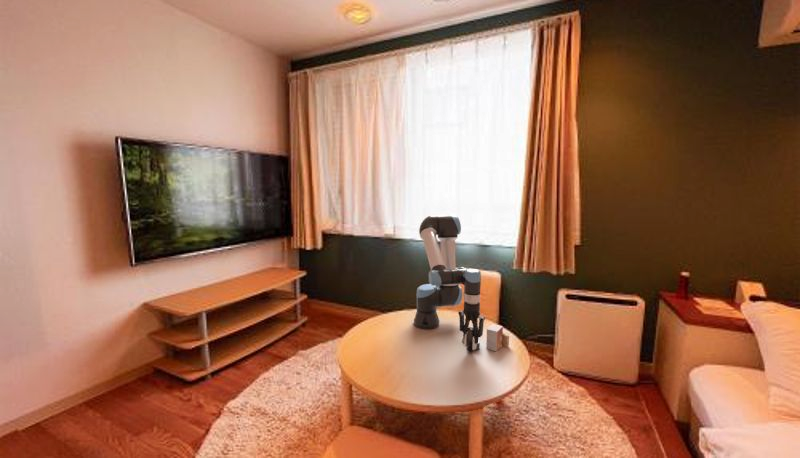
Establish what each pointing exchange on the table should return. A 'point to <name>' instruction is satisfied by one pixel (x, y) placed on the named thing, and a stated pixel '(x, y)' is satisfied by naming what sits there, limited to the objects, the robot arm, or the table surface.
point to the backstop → (505, 340)
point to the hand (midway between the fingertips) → (470, 347)
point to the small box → (494, 337)
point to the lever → (471, 340)
